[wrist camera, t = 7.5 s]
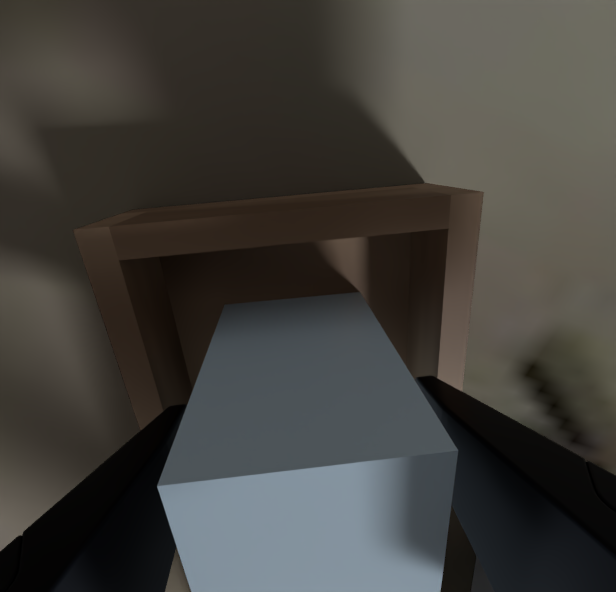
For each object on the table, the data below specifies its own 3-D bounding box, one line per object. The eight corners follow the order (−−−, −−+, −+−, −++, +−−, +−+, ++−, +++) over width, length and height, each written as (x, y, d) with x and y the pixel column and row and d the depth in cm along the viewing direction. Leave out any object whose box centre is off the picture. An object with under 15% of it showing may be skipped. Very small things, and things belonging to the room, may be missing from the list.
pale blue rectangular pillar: (363, 581, 15) (412, 819, 10) (274, 593, 15) (272, 843, 10) (359, 291, 10) (458, 450, 5) (224, 304, 10) (157, 485, 4)
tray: (406, 594, 17) (431, 677, 15) (241, 618, 17) (234, 708, 14) (426, 183, 10) (483, 191, 7) (132, 209, 10) (72, 230, 7)
